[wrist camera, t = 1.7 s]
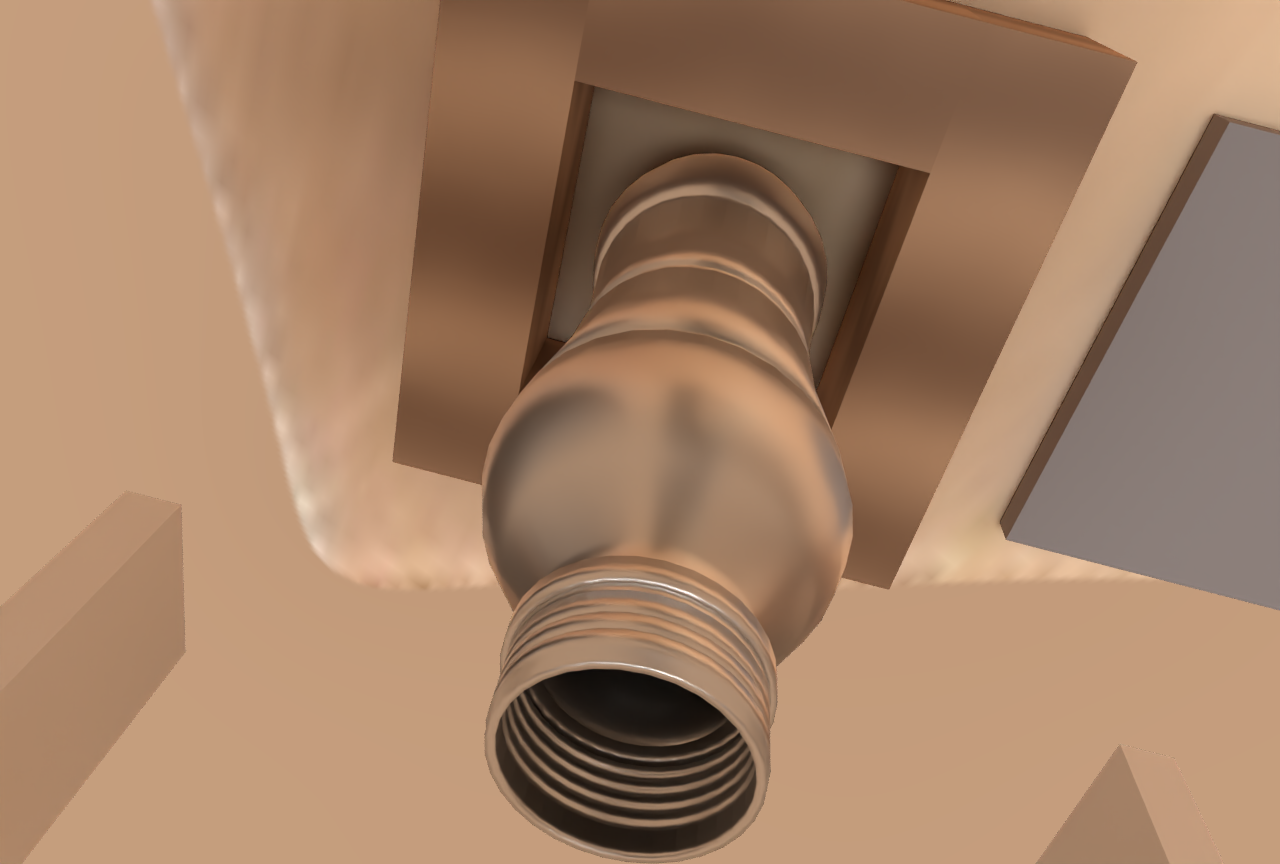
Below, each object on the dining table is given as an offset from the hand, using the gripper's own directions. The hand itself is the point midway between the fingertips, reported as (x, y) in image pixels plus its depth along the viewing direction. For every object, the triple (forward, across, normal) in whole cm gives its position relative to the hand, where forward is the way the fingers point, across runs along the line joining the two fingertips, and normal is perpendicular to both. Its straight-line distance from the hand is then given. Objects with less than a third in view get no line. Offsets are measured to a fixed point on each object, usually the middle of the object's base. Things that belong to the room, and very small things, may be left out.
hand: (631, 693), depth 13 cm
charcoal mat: (+18, +19, 0) cm, 27 cm away
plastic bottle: (+19, 0, 0) cm, 19 cm away
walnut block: (+18, 0, 0) cm, 18 cm away
